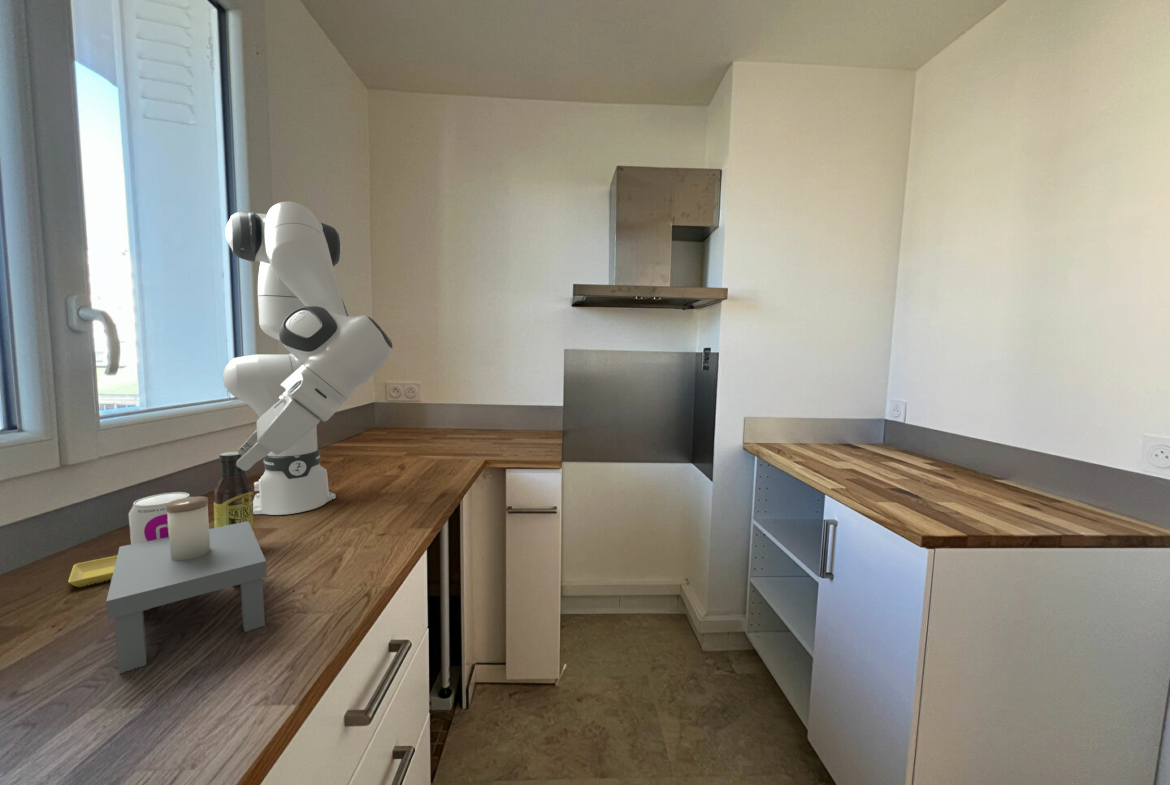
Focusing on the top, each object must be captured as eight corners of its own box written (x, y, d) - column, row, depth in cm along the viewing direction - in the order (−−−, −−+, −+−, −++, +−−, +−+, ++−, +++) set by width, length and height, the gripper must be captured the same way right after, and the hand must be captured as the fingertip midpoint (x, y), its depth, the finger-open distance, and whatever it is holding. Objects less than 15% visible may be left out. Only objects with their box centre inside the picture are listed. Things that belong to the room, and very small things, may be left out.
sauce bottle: (233, 559, 87) (226, 458, 85) (206, 555, 88) (200, 456, 86) (263, 544, 93) (258, 450, 91) (238, 541, 94) (233, 449, 93)
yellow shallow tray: (142, 560, 87) (141, 549, 87) (141, 577, 81) (140, 565, 80) (74, 575, 81) (73, 563, 81) (68, 594, 75) (67, 582, 74)
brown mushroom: (169, 552, 68) (165, 500, 67) (210, 543, 71) (206, 494, 70) (169, 563, 64) (165, 509, 63) (212, 554, 67) (208, 502, 67)
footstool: (125, 608, 70) (119, 546, 69) (251, 574, 81) (248, 521, 80) (113, 678, 56) (106, 601, 55) (269, 625, 66) (266, 560, 65)
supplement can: (203, 582, 78) (197, 498, 77) (137, 601, 72) (129, 510, 71) (195, 566, 84) (190, 488, 82) (133, 583, 78) (126, 498, 76)
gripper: (290, 378, 82) (224, 436, 77) (300, 387, 65) (217, 462, 60) (319, 401, 85) (258, 458, 80) (335, 415, 68) (260, 489, 64)
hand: (240, 460), depth 70 cm, fingers open, 8 cm apart
